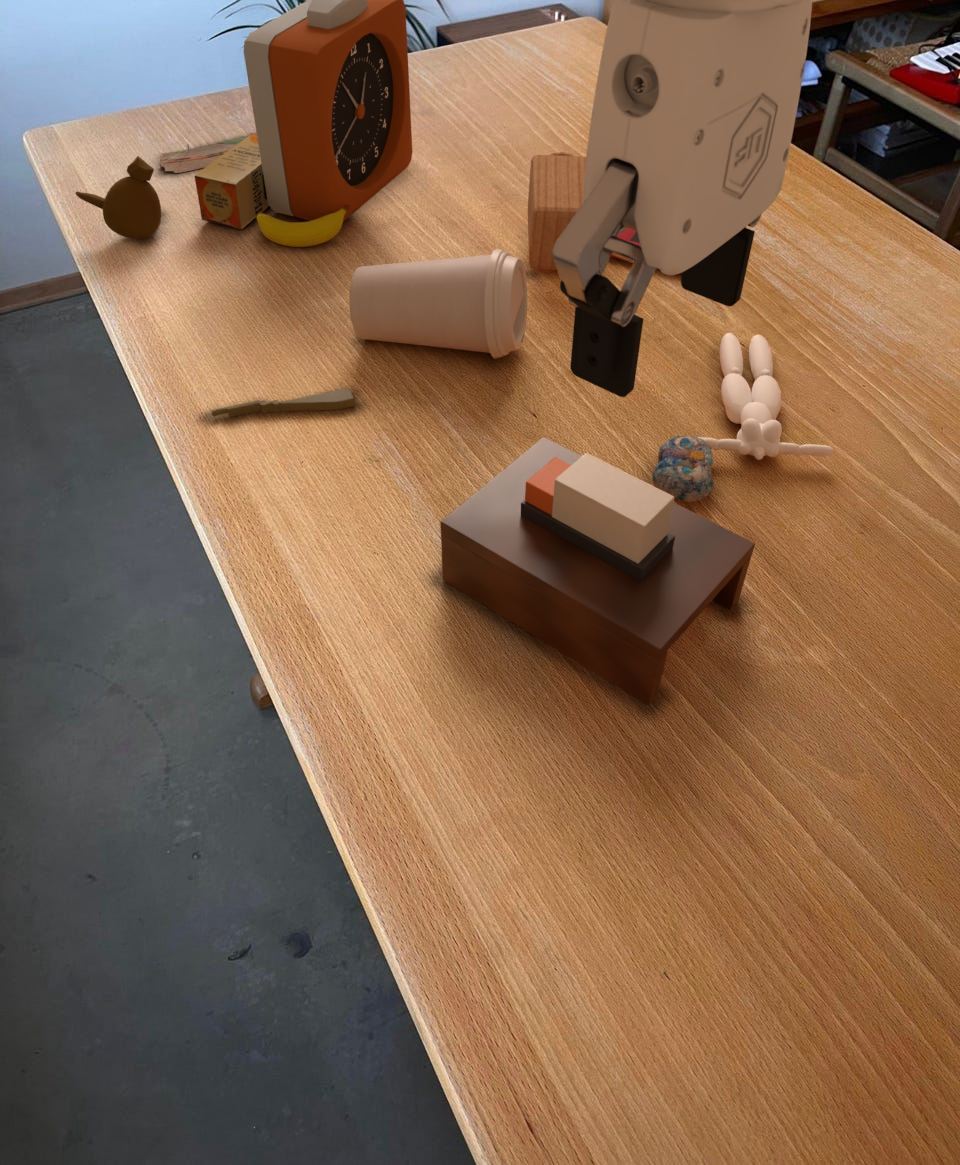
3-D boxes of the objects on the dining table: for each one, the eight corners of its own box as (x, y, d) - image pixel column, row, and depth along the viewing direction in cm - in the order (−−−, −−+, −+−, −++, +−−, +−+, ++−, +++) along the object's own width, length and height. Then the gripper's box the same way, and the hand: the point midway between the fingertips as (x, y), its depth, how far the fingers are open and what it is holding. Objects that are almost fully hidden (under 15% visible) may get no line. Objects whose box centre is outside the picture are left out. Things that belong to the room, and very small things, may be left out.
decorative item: (533, 209, 98) (530, 126, 111) (528, 271, 102) (526, 184, 116) (600, 212, 98) (589, 128, 111) (593, 274, 102) (583, 186, 116)
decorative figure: (804, 348, 94) (831, 476, 82) (675, 340, 95) (682, 466, 83) (814, 316, 91) (842, 444, 79) (681, 308, 92) (689, 434, 80)
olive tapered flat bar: (353, 394, 89) (352, 386, 88) (355, 408, 88) (354, 399, 87) (212, 411, 87) (210, 402, 87) (213, 425, 86) (210, 416, 85)
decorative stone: (716, 504, 77) (660, 473, 76) (688, 525, 81) (635, 496, 80) (736, 440, 80) (683, 409, 79) (709, 464, 84) (658, 435, 83)
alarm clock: (335, 233, 108) (311, 26, 93) (267, 215, 111) (233, 12, 96) (415, 163, 119) (406, -31, 104) (352, 149, 122) (334, -42, 107)
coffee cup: (348, 365, 91) (509, 369, 88) (338, 256, 87) (507, 255, 84) (381, 344, 99) (529, 346, 96) (374, 243, 95) (528, 242, 92)
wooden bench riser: (738, 601, 72) (755, 543, 68) (648, 706, 66) (660, 649, 62) (539, 495, 80) (543, 436, 76) (442, 579, 74) (439, 521, 69)
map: (327, 140, 125) (327, 133, 124) (169, 176, 118) (167, 168, 117) (310, 122, 128) (310, 115, 127) (154, 156, 120) (152, 149, 119)
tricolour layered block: (673, 548, 68) (683, 498, 64) (640, 582, 66) (649, 532, 62) (554, 485, 72) (557, 435, 68) (520, 515, 70) (522, 465, 66)
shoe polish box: (257, 175, 117) (202, 219, 109) (251, 133, 114) (194, 175, 106) (294, 184, 116) (241, 229, 108) (290, 141, 113) (235, 184, 105)
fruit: (349, 249, 106) (352, 211, 108) (344, 236, 104) (348, 197, 106) (255, 252, 107) (260, 214, 109) (249, 239, 105) (254, 200, 107)
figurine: (181, 230, 108) (156, 216, 112) (158, 154, 103) (133, 142, 107) (113, 254, 105) (91, 239, 109) (86, 177, 100) (63, 164, 103)
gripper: (683, 22, 30) (623, 457, 43) (915, -98, 39) (808, 290, 52) (491, -28, 33) (487, 390, 46) (746, -129, 43) (684, 244, 55)
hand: (657, 337), depth 49 cm, fingers open, 9 cm apart
